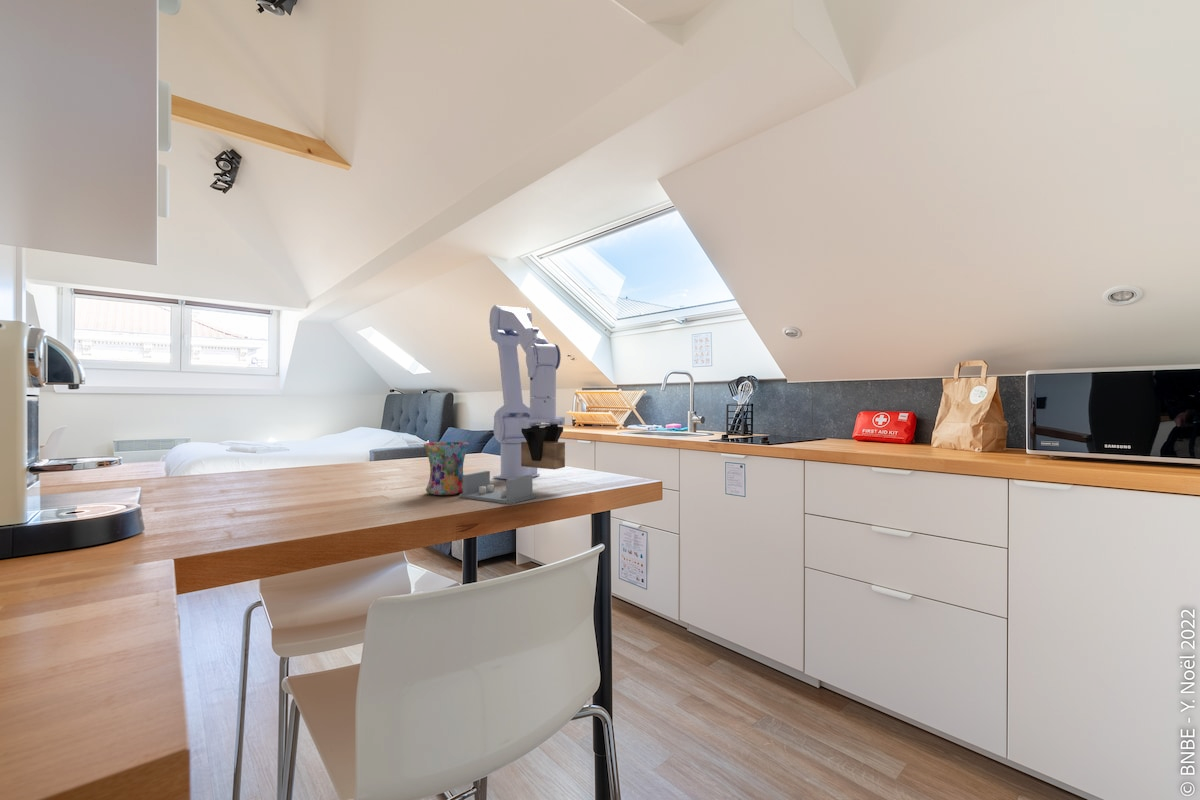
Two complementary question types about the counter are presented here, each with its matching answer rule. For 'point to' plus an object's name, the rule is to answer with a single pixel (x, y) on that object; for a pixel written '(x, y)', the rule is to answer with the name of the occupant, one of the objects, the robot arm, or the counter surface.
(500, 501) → the peg cradle
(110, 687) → the counter surface
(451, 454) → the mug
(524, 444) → the shelf block
